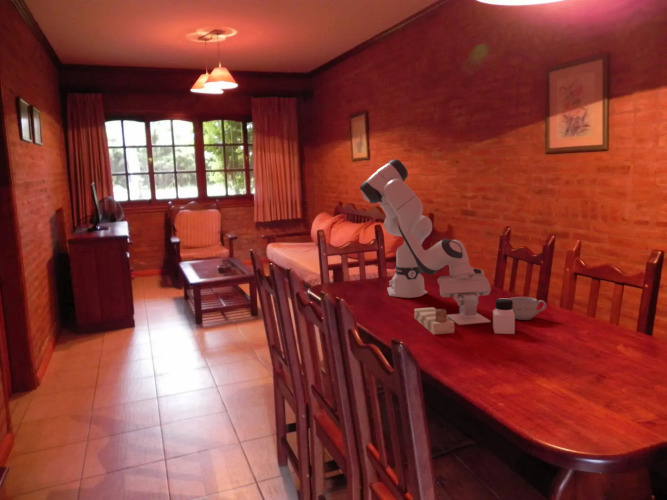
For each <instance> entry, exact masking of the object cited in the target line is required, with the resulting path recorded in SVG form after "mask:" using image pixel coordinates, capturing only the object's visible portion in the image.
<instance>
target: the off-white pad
mask: <svg viewBox="0 0 667 500" xmlns="http://www.w3.org/2000/svg"><path fill="white" fill-rule="evenodd" d="M446 317H448V318H449V319H450V320H452V321H453V322H454V323H456V324H457V325H459V326H463V325H472V324H473V325H474V324H484V323H491V320H490V319H488V318H487V317H485V316H483V315H482V314H480V313H478V312H477V315H474V316H463V315H462V314H460V313H451V314H446Z"/></svg>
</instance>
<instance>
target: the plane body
mask: <svg viewBox="0 0 667 500" xmlns="http://www.w3.org/2000/svg"><path fill="white" fill-rule="evenodd" d="M413 312H414V315H413V316H414V320H416V321H417V322H418V323H419V324H420V325H422V326H423V327H424V328H425V329H427V331H428V332H430V333H431V334H432V335H443V334H454V333H455V322H454V321H453V320H451V319H450V318H449V317H447V316H446V315H447V309H445V308H439V309H436V307H432V306H431V307H419V308H414V310H413Z"/></svg>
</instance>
